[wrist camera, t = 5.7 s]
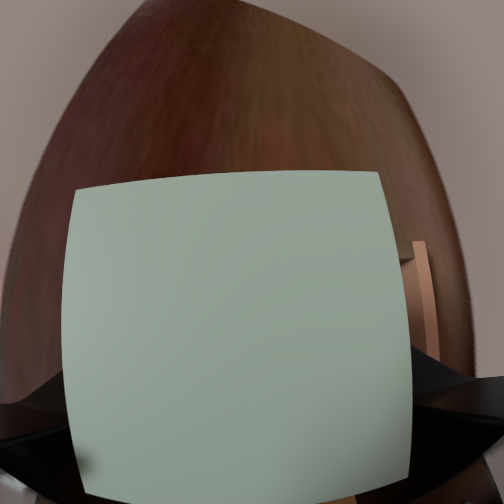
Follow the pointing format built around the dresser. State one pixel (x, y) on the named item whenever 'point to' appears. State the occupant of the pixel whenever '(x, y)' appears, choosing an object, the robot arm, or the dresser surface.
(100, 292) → the pale green square pillar
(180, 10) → the dresser surface
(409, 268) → the keyhole track
